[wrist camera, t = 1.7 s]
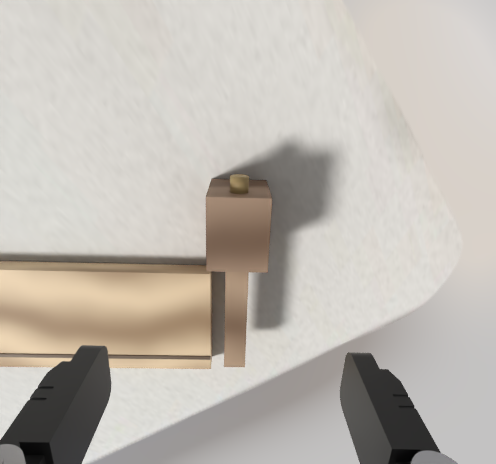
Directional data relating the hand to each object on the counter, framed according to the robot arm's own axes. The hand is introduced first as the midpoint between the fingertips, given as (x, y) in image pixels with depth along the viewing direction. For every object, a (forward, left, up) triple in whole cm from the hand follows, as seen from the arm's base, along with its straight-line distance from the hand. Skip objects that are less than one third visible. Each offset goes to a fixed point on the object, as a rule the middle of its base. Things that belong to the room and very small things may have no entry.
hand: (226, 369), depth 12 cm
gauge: (+4, 0, -16) cm, 17 cm away
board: (+9, -12, -16) cm, 22 cm away
